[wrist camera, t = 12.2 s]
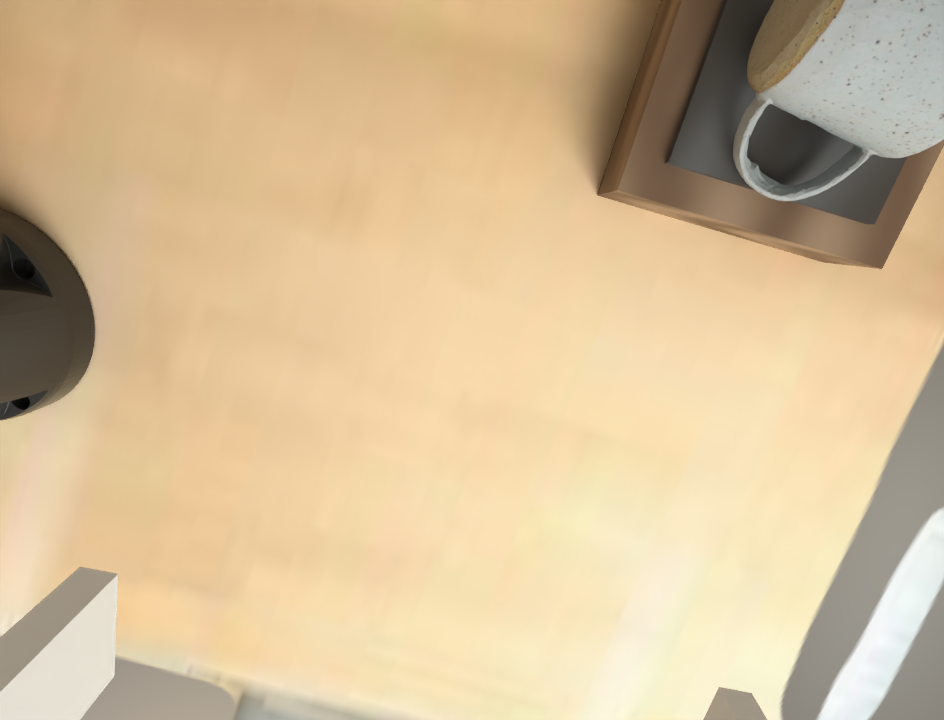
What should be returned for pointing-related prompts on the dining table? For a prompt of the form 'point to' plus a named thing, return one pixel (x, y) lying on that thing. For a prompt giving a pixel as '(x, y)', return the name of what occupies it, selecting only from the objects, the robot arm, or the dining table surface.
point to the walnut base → (770, 147)
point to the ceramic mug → (848, 81)
